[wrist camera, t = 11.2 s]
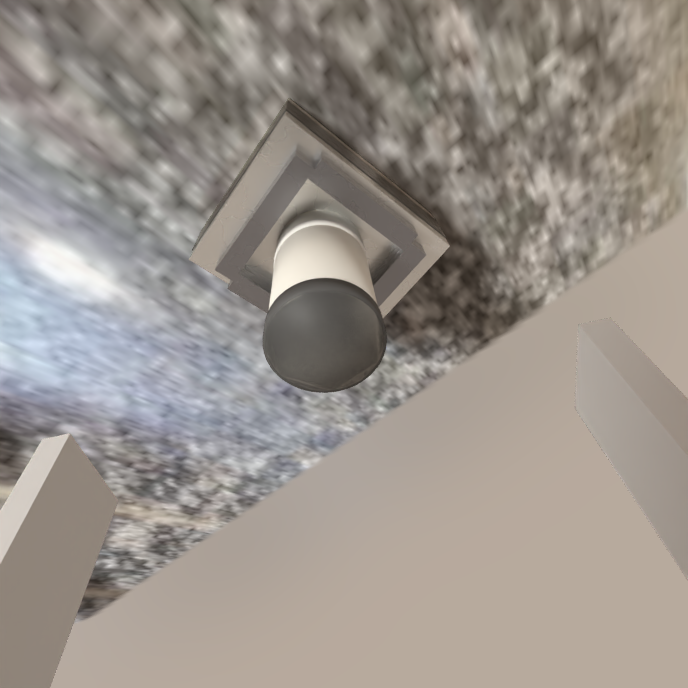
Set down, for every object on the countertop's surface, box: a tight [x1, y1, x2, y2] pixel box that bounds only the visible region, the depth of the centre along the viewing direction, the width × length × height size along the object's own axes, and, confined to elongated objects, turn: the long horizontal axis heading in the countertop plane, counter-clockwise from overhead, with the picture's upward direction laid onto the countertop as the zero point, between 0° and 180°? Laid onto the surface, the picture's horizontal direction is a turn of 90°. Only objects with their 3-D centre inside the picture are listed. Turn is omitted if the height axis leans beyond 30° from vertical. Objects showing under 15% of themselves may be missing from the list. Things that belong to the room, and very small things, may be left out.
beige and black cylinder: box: [263, 210, 387, 393], centre depth 27 cm, size 5×5×10 cm
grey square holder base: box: [189, 98, 450, 318], centre depth 33 cm, size 12×10×7 cm
